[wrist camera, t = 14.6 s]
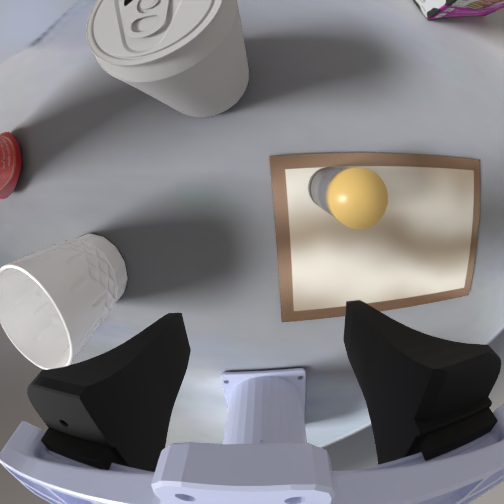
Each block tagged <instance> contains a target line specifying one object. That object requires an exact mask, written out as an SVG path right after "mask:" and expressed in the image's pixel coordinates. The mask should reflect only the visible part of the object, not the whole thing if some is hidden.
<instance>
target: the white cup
mask: <svg viewBox="0 0 504 504" xmlns="http://www.w3.org/2000/svg"><path fill="white" fill-rule="evenodd" d="M127 279H128V278H127V272H126V266H125V262H124V260H123V258H122V256H121V255H120V253H119V251H118V249H117V248H116V246H114V245H113V244H112V243H111V242H109V241H108V240H107V239H106V238H104V237H103V236H99V235H94V234H90V233H89V234H86V235H83V236H80V237H78V238H75V239H72V240H65V241H63V242H60V243H57V244H54V245H51V246H49V247H47V248H44V249H42V250H39V251H37V252H34V253H32V254H30V255H27V256H25V257H23V258H20V259H18V260H16V261H13V262H11V263H9V264H7V265H4V266H2V267H1V268H0V323H1V325H2V327H3V329H4V330H5V332H6V334H7V336H8V337H9V339H10V340H11V341H12V343H13V344H14V346H15V347H16V348H17V349H18V350H19V351H20V352H21V353H22V354H23V355H24V356H25V357H26V358H27V359H28V360H29V361H31V362H32V363H33V364H35V365H37V366H38V367H40V368H42V369H45V370H48V369H54V368H60V367H65V366H69V365H70V364H71V363H72V361H73V360H74V359H75V357H76V356H77V355H78V353H79V352H80V351H81V349H82V348H83V347H84V345H85V344H86V343H87V341H88V340H89V339H90V338H91V336H92V335H93V334H94V332H95V331H96V330H97V329H98V327H99V326H100V325H101V323H102V322H103V320H104V319H105V318H106V316H107V315H108V314H109V312H110V310H111V308H112V307H113V306H114V304H115V303H116V302H117V301H118V299H119V298H120V297H121V296H122V295H123V294H124V291H125V287H126V283H127Z"/></svg>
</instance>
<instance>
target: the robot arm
mask: <svg viewBox="0 0 504 504" xmlns="http://www.w3.org/2000/svg"><path fill="white" fill-rule="evenodd" d="M344 343H345V347H346V351H347V355H348V358H349V361H350V363H351V366H352V368H353V370H354V373H355V375H356V378H357V380H358V382H359V385H360V387H361V390H362V392H363V394H364V397H365V400H366V403H367V407H368V411H369V415H370V419H371V424H372V429H373V433H374V439H375V444H376V450H377V457H378V465H376V466H372V467H367V468H363V469H358V470H353V471H332V469H331V463H330V458H329V455H328V453H327V451H326V450H325V449H322V448H319V447H317V446H314V445H312V444H309V443H307V439H306V431H305V423H304V417H305V387H306V372H305V369H303V368H295V369H283V370H268V371H248V372H223V373H222V374H221V382H222V386H223V391H224V395H225V399H226V404H227V408H228V412H227V419H226V426H225V433H224V440H223V444H210V443H194V442H189V443H174V444H171V445H169V446H168V447H166V448H165V444H166V438H167V432H168V427H169V422H170V417H171V413H172V409H173V406H174V403H175V400H176V397H177V395H178V392H179V389H180V386H181V384H182V381H183V378H184V375H185V372H186V369H187V366H188V361H189V356H190V346H189V342H188V338H187V334H186V330H185V326H184V321H183V317H182V313H168V314H167V315H165V316H163V317H162V318H160V319H159V320H157V321H156V322H155V323H153V324H152V325H150V326H149V327H147V328H146V329H145V330H143V331H142V332H140V333H139V334H137V335H136V336H134V337H133V338H131V339H129V340H128V341H126V342H125V343H123V344H121V345H120V346H118V347H116V348H114V349H112V350H110V351H108V352H106V353H104V354H101V355H99V356H96V357H94V358H91V359H89V360H86V361H83V362H80V363H77V364H73V365H69V366H65V367H60V368H54V369H48V370H42V371H41V372H40V374H38V376H37V377H36V378H35V379H34V380H33V381H32V383H31V384H30V385H29V386H28V389H27V392H28V397H29V399H30V402H31V403H32V405H33V407H34V408H35V410H36V411H37V413H38V414H39V415H40V417H41V418H42V419H43V421H44V422H45V423H46V425H47V426H48V427H49V428H48V430H47V431H46V433H45V432H44V431H42V430H41V429H40V428H38V427H35V426H33V425H31V424H29V423H27V422H23V421H22V422H21V424H20V426H19V427H18V428H17V430H16V431H15V432H14V434H13V435H12V437H11V438H10V439H9V441H8V442H7V444H6V446H5V447H4V448H3V450H2V451H1V453H0V463H1V464H2V465H3V466H4V467H5V468H6V469H7V470H8V471H9V472H10V473H11V474H12V475H13V476H14V477H15V478H16V479H18V480H19V481H20V482H21V483H22V484H23V485H24V486H25V487H27V488H28V489H29V490H30V491H31V492H33V493H34V494H36V495H37V496H39V497H41V498H43V499H44V500H46V501H48V502H50V503H51V504H468V503H470V502H471V501H473V500H475V499H476V498H478V497H480V496H481V495H483V494H485V493H486V492H488V491H489V490H491V489H492V488H494V487H495V486H497V485H498V484H500V483H501V482H503V481H504V404H503V405H502V406H500V407H499V408H497V409H496V410H495V411H494V412H493V413H492V411H491V410H490V408H489V407H490V406H491V404H492V402H491V400H490V399H489V398H488V396H489V394H490V392H491V390H492V388H493V386H494V384H495V382H496V380H497V378H498V375H499V372H500V368H501V360H500V358H499V357H498V355H497V354H496V353H495V352H494V351H493V350H492V349H491V348H490V346H489V345H480V344H466V343H460V342H453V341H449V340H444V339H440V338H437V337H433V336H430V335H427V334H424V333H421V332H419V331H416V330H414V329H411V328H409V327H407V326H405V325H403V324H401V323H399V322H397V321H395V320H393V319H391V318H390V317H388V316H386V315H385V314H383V313H381V312H380V311H378V310H376V309H375V308H373V307H371V306H370V305H368V304H366V303H365V302H363V301H361V300H354V301H346V315H345V330H344ZM299 376H302V377H299ZM225 380H228V381H225Z"/></svg>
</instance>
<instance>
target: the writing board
mask: <svg viewBox="0 0 504 504" xmlns="http://www.w3.org/2000/svg"><path fill="white" fill-rule="evenodd" d="M269 158H270V168H271V180H272V191H273V203H274V215H275V228H276V241H277V255H278V270H279V285H280V301H281V318H282V322H290V321H302V320H312V319H322V318H331V317H340V316H345V315H346V301H354V300H361V301H363V302H365V303H366V304H368V305H370V306H371V307H373V308H375V309H376V310H378V311H385V310H391V309H398V308H404V307H410V306H416V305H421V304H427V303H432V302H438V301H443V300H448V299H453V298H457V297H462V296H467V295H469V291H470V286H471V280H472V274H473V268H474V262H475V255H476V247H477V237H478V226H479V211H480V160H476V159H467V158H458V157H447V156H435V155H420V154H399V153H319V154H297V155H281V156H269ZM325 167H356V168H366V169H369V170H371V171H373V172H375V173H376V174H377V175H378V176H380V178H381V179H382V180H383V182H384V184H385V186H386V189H387V193H388V204H387V208H386V211H385V213H384V215H383V217H382V218H381V219H380V220H379V221H378V222H377V223H376V224H375V225H373V226H372V227H369V228H366V229H353V228H350V227H347V226H346V225H344V224H343V223H341V222H340V221H338V220H337V219H336V218H334V217H333V216H332V215H330V214H329V213H327V212H326V211H325V210H323V209H322V208H320V207H319V206H318V205H316V204H315V203H314V202H313V201H312V199H311V198H310V195H309V192H308V183H309V180H310V178H311V176H312V175H313V174H314V173H315V172H316V171H317V170H319V169H321V168H325Z"/></svg>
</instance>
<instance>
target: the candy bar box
mask: <svg viewBox="0 0 504 504" xmlns="http://www.w3.org/2000/svg"><path fill="white" fill-rule="evenodd" d="M413 1H414V3H415V4H416V5H417V7H418V8H419V10H420V11H421V13H422V14H423V15H424V17H425V18H426V19H427V20H430V19H438V18H447V17H460V16H486V15H488V14H490V13H492V12H494V11H496V10H499V9H501V8H503V7H504V0H413Z"/></svg>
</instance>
